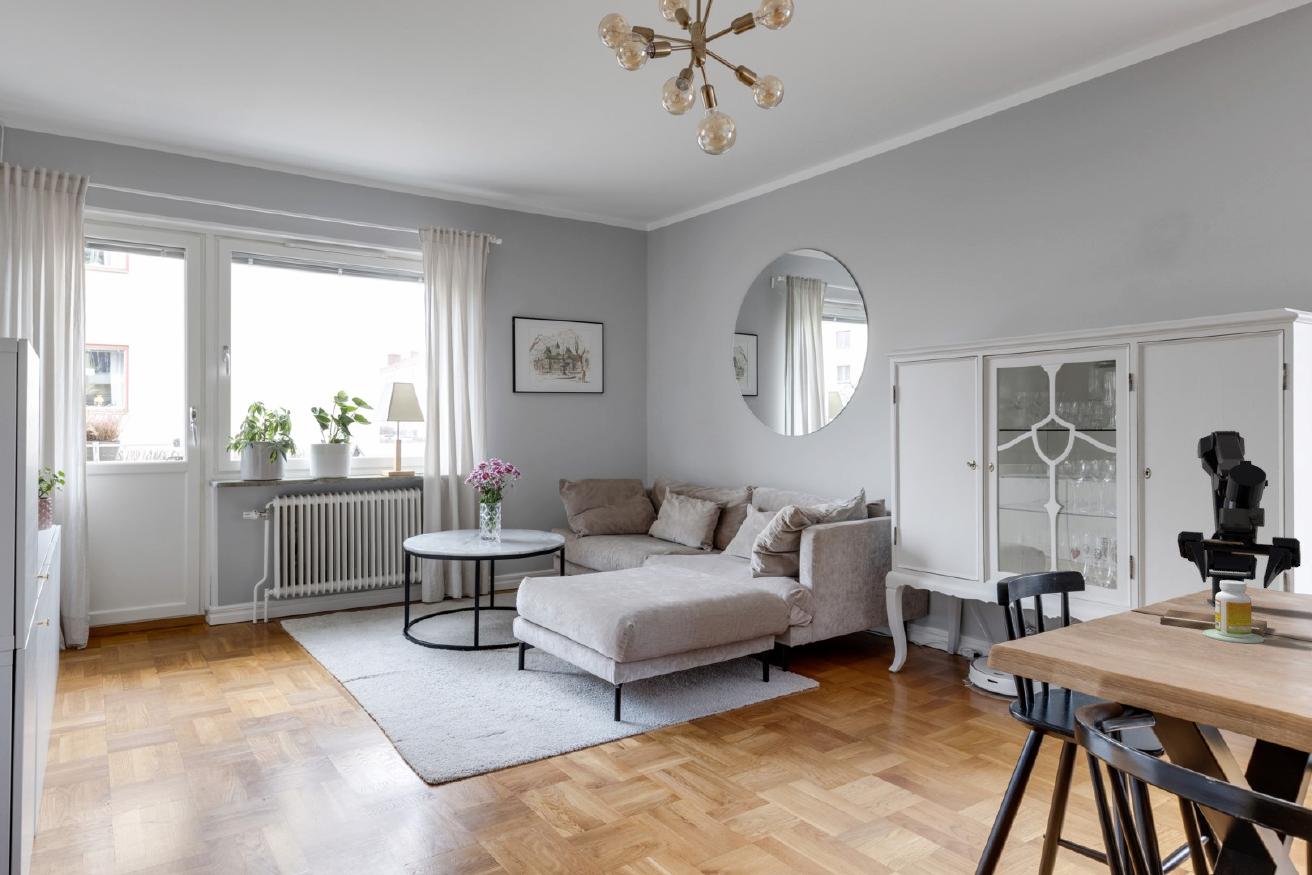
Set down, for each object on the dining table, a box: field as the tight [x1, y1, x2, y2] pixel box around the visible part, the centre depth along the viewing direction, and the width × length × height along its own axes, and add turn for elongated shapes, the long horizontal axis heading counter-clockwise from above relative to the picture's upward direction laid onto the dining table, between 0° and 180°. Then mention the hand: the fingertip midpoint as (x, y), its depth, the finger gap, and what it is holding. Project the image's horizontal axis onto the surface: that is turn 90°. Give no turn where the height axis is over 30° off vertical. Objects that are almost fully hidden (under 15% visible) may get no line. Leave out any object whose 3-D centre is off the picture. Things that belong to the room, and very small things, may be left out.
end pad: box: [1203, 629, 1265, 644], centre depth 147 cm, size 9×9×1 cm
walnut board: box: [1159, 609, 1268, 637], centre depth 156 cm, size 16×10×1 cm, turn 48°
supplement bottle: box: [1214, 580, 1252, 638], centre depth 147 cm, size 5×5×10 cm
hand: (1233, 584), depth 148 cm, fingers open, 9 cm apart
